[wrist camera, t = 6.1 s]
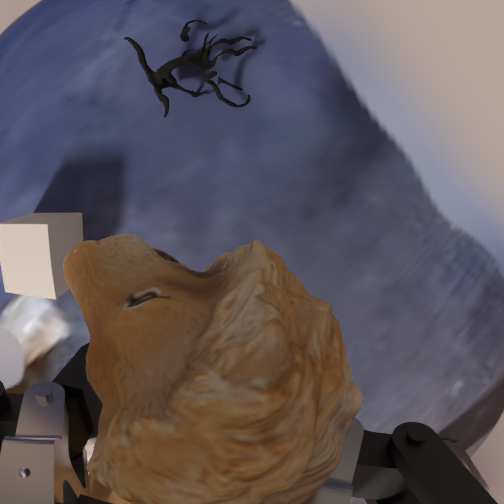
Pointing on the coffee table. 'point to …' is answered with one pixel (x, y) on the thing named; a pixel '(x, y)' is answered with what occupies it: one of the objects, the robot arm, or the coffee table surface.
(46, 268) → the beige block
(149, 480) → the lion figurine
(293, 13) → the coffee table surface
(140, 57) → the creature
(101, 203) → the coffee table surface
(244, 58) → the coffee table surface
